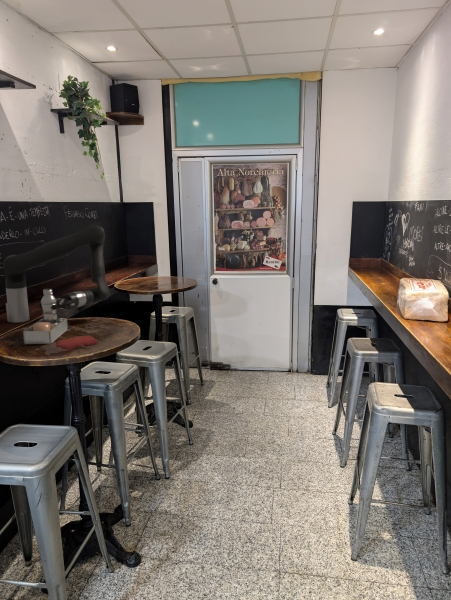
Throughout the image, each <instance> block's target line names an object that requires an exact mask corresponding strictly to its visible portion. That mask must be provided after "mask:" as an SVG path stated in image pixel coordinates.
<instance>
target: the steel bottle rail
mask: <svg viewBox="0 0 451 600" xmlns="http://www.w3.org/2000/svg"><path fill="white" fill-rule="evenodd" d="M57 319H58V323H59V324H50V331H33V324H32V325H31V326H29V327H28V328H26V329H24V330H23V331H22V334H23V335H22V337H23V344H24V345H44V344H45V345H51V344H53V343H54V342H56V340H57V339H58V338H60V337H61V336H62V335H63V334H64V333H65V332H67V331H68V326H69V325H68V318H64V317H63V318H62V317H61V318H60V317H59V318H58V317H57ZM39 322H44V317H43V318H41V319H39V320H38V321H37V322H36V323H39Z"/></svg>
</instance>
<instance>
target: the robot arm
mask: <svg viewBox="0 0 451 600" xmlns="http://www.w3.org/2000/svg"><path fill="white" fill-rule="evenodd" d="M105 233H106V232H105V230H104V228H103V227H102V226H100V225H96V224H94V225H91V226H89V227H87V228H84V229H82V230H80V231H77V232H76V233H75V232H74V233H72V234H70V235H67V236H64V237H60V238H57V239H54V240H51V241H49V242H45V243H44V244H42V245H40V246H38V247H36V248H35V249H32V250H30V251H28V252H24V253H21V254H17V255H16V254H11V255H8V256H7V257H6V258H5V259H4V261H3V263H2V267H3V270H4V278H5V283H4V284H5V292H6V300H7V301H6V303H5V310H6V318H7V320H6V321H7V322H8V323H24V322H28V321H30V313H29V312H30V310H29V303H28V302H29V301H28V291H27V277H26V271H27V270H29V269H31V268H34V267H35V266H38V265H43V264H46V263H50V262H53V261H56V260H59V259H62V258H64V257H66V256H68V255H70V254H71V253H73V252H74V251H75V250H77V249H78V248H80V247H83V246H85V245H88V246H89V249H90V280H91V283H93V284H96V286H97V287H95V288H91V289H86V290H80V291H79V290H78V291H73V292H68V293H63V295H62V296H61V297H60V298H56V301H57V304H55V305H52V310H56V311H57V310H62V309H63V310H68V311H69V310H73V309H76V308H80V307H82V306H86V305H90V304H94V303H98V302H99V303H100V302H101V301H106V300H108V298H109V297H110V289H109V286H108V283H107V280H106V271H105V269H106V268H105V262H104V246H105V241H106V234H105ZM38 308H40V309H43V308H42V305H41V302H38Z"/></svg>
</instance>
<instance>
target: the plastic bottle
mask: <svg viewBox="0 0 451 600" xmlns="http://www.w3.org/2000/svg"><path fill="white" fill-rule="evenodd" d="M42 291H43V293H42V294H43V296H42V298H41V300H40V303H41V305H42V308H41V309H42V313H43V318H44V322H48V323H50V324H59V323H58V319H57V318H58V316H57V315H58V314H57V309H56V310H52V305H55V304H57V301H56V299H57V298H56V297H55V296H54V294H53V288H45V289H43V290H42Z"/></svg>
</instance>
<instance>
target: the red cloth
mask: <svg viewBox="0 0 451 600" xmlns="http://www.w3.org/2000/svg"><path fill="white" fill-rule="evenodd" d="M97 344H99V340H98V339H96V338H94V337H93V336H92V335H80V336H73V337H71V338H68V339H67V338H66V339H61V340H60V339H58V340H57V341H55V347H56V348H60V349H62V350H71V349H75V348H78V347H82V346H83V348H85V347H91V346H95V345H97Z"/></svg>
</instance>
